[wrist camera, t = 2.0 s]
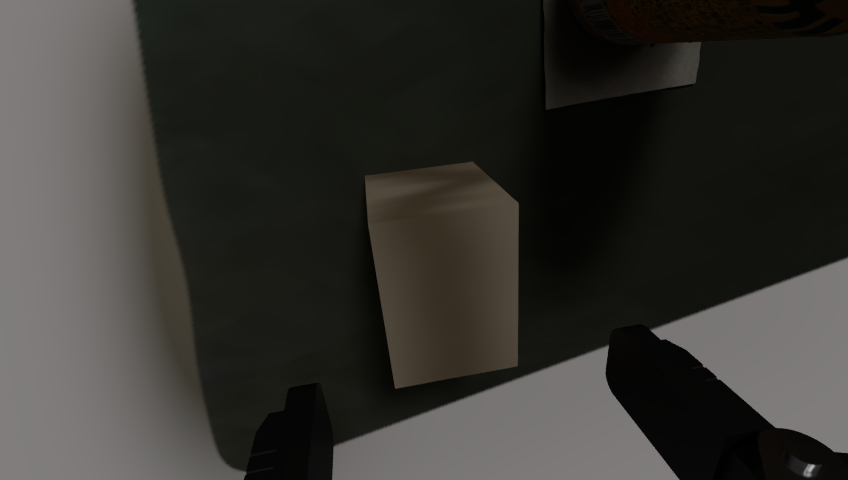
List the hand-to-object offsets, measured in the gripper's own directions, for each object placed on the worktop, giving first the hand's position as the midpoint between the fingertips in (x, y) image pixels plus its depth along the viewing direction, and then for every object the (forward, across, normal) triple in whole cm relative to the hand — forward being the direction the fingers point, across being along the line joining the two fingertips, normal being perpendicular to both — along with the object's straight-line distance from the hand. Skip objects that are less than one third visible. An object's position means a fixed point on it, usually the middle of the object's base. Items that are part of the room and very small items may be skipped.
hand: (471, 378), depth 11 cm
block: (+10, 0, 0) cm, 10 cm away
